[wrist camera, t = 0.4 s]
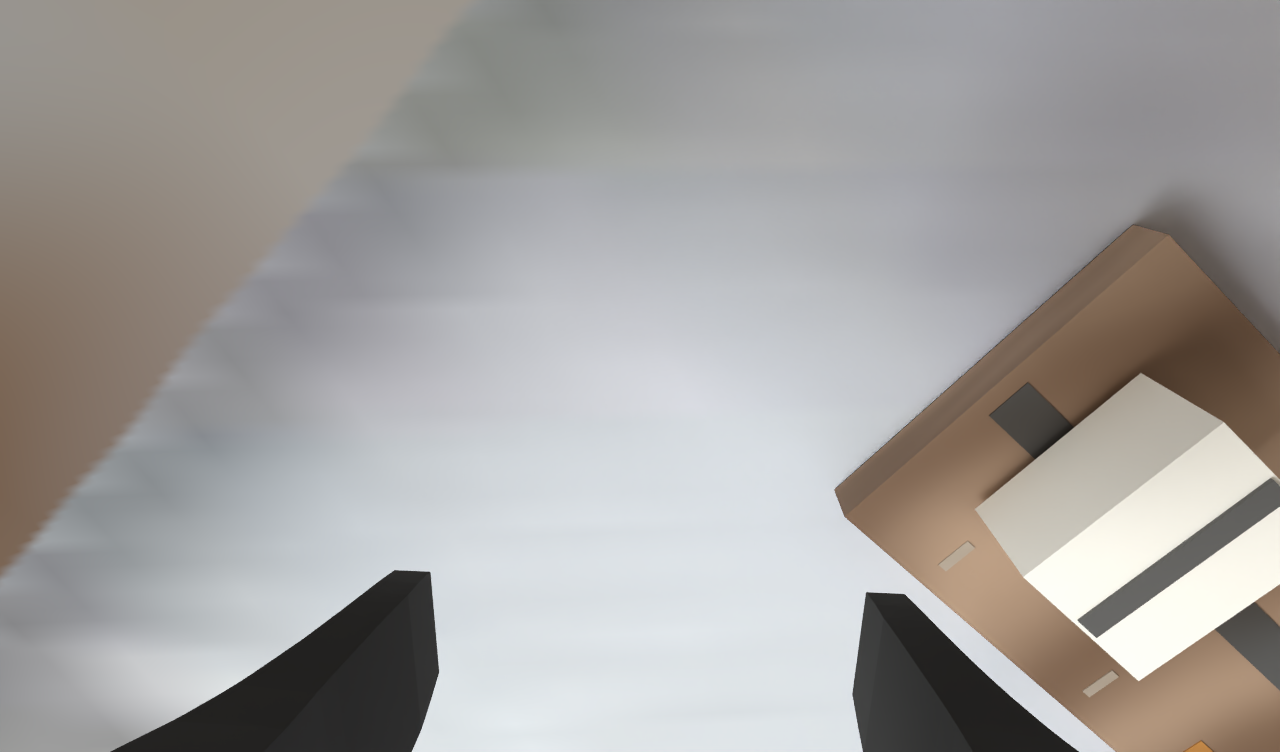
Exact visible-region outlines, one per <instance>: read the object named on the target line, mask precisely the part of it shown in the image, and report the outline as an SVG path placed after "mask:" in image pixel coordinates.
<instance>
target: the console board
mask: <svg viewBox="0 0 1280 752" xmlns="http://www.w3.org/2000/svg"><path fill="white" fill-rule="evenodd" d="M1140 373H1142V374H1144V375H1145V376H1147V377H1149V378H1150V379H1152V380H1154V381H1155V382H1157V383H1159V384H1160V385H1162V386H1164V387H1165V388H1167V389H1169V390H1171V391H1172V392H1174V393H1176V394H1177V395H1179V396H1181V397H1182V398H1184V399H1186V400H1187V401H1189V402H1191V403H1192V404H1194V405H1196V406H1197V407H1199V408H1201V409H1203V410H1204V411H1206V412H1208V413H1209V414H1211V415H1213V416H1214V417H1216V418H1218V419H1219V420H1221V421H1223V422H1224V423H1225V424H1226V425H1227V426H1228V427H1229V428H1230V429H1231V430H1232V431H1233V432H1234V433H1235V434H1236V435H1237V436H1238V437H1239V438H1240V439H1241V440H1242V441H1243V442H1244V443H1245V444H1246V445H1247V446H1248V447H1249V448H1250V450H1251V451H1252V452H1253V453H1254V454H1255V455H1256V456H1257V457H1258V458H1259V459H1260V460H1261V461H1262V462H1263V463H1264V464H1265V465H1266V466H1267V467H1268V468H1269V469H1270V470H1271V471H1272V472H1273V473H1274V474H1275V475H1276V476H1277V477H1278V478H1279V479H1280V354H1279V353H1278V352H1277V351H1276V350H1275V348H1274V347H1273V346H1272V345H1271V344H1270V343H1269V342H1268V341H1267V340H1266V339H1265V338H1264V337H1263V336H1262V334H1261V333H1260V332H1259V331H1258V330H1257V329H1256V328H1255V327H1254V326H1253V325H1252V324H1251V323H1250V322H1249V320H1248V319H1247V318H1246V317H1245V316H1244V315H1243V314H1242V313H1241V312H1240V311H1239V310H1238V309H1237V307H1236V306H1235V305H1234V304H1233V303H1232V302H1231V301H1230V300H1229V299H1228V298H1227V297H1226V296H1225V295H1224V293H1223V292H1222V291H1221V290H1220V289H1219V288H1218V287H1217V286H1216V285H1215V284H1214V283H1213V282H1212V281H1211V279H1210V278H1209V277H1208V276H1207V275H1206V274H1205V273H1204V272H1203V271H1202V270H1201V269H1200V268H1199V267H1198V265H1197V264H1196V263H1195V262H1194V261H1193V260H1192V259H1191V258H1190V257H1189V256H1188V255H1187V254H1186V253H1185V251H1184V250H1183V249H1182V248H1181V247H1180V246H1179V245H1178V244H1177V243H1176V242H1175V241H1174V240H1173V239H1172V237H1171V236H1170V235H1169V234H1165V233H1162V232H1158V231H1154V230H1151V229H1147V228H1143V227H1139V226H1136V225H1132V226H1131V227H1130V228H1129V229H1127V230H1126V231H1125V232H1124V233H1123V234H1122V235H1121V236H1120V237H1118V238H1117V239H1116V240H1115V241H1114V242H1113V243H1112V244H1111V245H1109V246H1108V247H1107V248H1106V249H1105V250H1104V251H1103V252H1102V253H1100V254H1099V255H1098V256H1097V257H1096V258H1095V259H1094V260H1093V261H1091V262H1090V263H1089V264H1088V265H1087V266H1086V267H1085V268H1084V269H1082V270H1081V271H1080V272H1079V273H1078V274H1077V275H1076V276H1075V277H1073V278H1072V279H1071V280H1070V281H1069V282H1068V283H1067V284H1066V285H1064V286H1063V287H1062V288H1061V289H1060V290H1059V291H1058V292H1057V293H1055V294H1054V295H1053V296H1052V297H1051V298H1050V299H1049V300H1047V301H1046V302H1045V303H1044V304H1043V305H1042V306H1041V307H1040V308H1038V309H1037V310H1036V311H1035V312H1034V313H1033V314H1032V315H1031V316H1029V317H1028V318H1027V319H1026V320H1025V321H1024V322H1023V323H1022V324H1020V325H1019V326H1018V327H1017V328H1016V329H1015V330H1014V331H1013V332H1011V333H1010V334H1009V335H1008V336H1007V337H1006V338H1005V339H1004V340H1002V341H1001V342H1000V343H999V344H998V345H997V346H996V347H995V348H993V349H992V350H991V351H990V352H989V353H988V354H987V355H986V356H984V357H983V358H982V359H981V360H980V361H979V362H978V363H977V364H975V365H974V366H973V367H972V368H971V369H970V370H969V371H968V372H966V373H965V374H964V375H963V376H962V377H961V378H960V379H959V380H957V381H956V382H955V383H954V384H953V385H952V386H951V387H950V388H948V389H947V390H946V391H945V392H944V393H943V394H942V395H941V396H939V397H938V398H937V399H936V400H935V401H934V402H933V403H932V404H930V405H929V406H928V407H927V408H926V409H925V410H924V411H923V412H921V413H920V414H919V415H918V416H917V417H916V418H915V419H914V420H912V421H911V422H910V423H909V424H908V425H907V426H906V427H905V428H903V429H902V430H901V431H900V432H899V433H898V434H897V435H896V436H894V437H893V438H892V439H891V440H890V441H889V442H888V443H887V444H885V445H884V446H883V447H882V448H881V449H880V450H879V451H878V452H876V453H875V454H874V455H873V456H872V457H871V458H870V459H869V460H867V461H866V462H865V463H864V464H863V465H862V466H861V467H859V468H858V469H857V470H856V471H855V472H854V473H853V474H852V475H850V476H849V477H848V478H847V479H846V480H845V481H844V482H843V483H841V484H840V485H839V486H838V487H837V488H836V489H835V493H836V496H837V498H838V501H839V503H840V506H841V509H842V511H843V514H844V516H845V517H846V518H847V519H848V520H849V521H850V522H851V523H852V524H854V525H855V526H856V527H857V528H858V529H859V530H861V531H862V532H863V533H864V534H865V535H866V536H868V537H869V538H870V539H871V540H872V541H873V542H874V543H876V544H877V545H878V546H879V547H880V548H881V549H883V550H884V551H885V552H886V553H887V554H888V555H889V556H891V557H892V558H893V559H894V560H895V561H896V562H898V563H899V564H900V565H901V566H902V567H903V568H904V569H906V570H907V571H908V572H909V573H910V574H911V575H913V576H914V577H915V578H916V579H917V580H918V581H919V582H921V583H922V584H923V585H924V586H925V587H926V588H928V589H929V590H930V591H931V592H932V593H933V594H934V595H936V596H937V597H938V598H939V599H940V600H941V601H943V602H944V603H945V604H946V605H947V606H948V607H949V608H951V609H952V610H953V611H954V612H955V613H956V614H958V615H959V616H960V617H961V618H962V619H963V620H964V621H966V622H967V623H968V624H969V625H970V626H971V627H973V628H974V629H975V630H976V631H977V632H978V633H979V634H981V635H982V636H983V637H984V638H985V639H986V640H988V641H989V642H990V643H991V644H992V645H993V646H995V647H996V648H997V649H998V650H999V651H1000V652H1001V653H1003V654H1004V655H1005V656H1006V657H1007V658H1008V659H1010V660H1011V661H1012V662H1013V663H1014V664H1015V665H1016V666H1018V667H1019V668H1020V669H1021V670H1022V671H1023V672H1025V673H1026V674H1027V675H1028V676H1029V677H1030V678H1031V679H1033V680H1034V681H1035V682H1036V683H1037V684H1038V685H1040V686H1041V687H1042V688H1043V689H1044V690H1045V691H1046V692H1048V693H1049V694H1050V695H1051V696H1052V697H1053V698H1055V699H1056V700H1057V701H1058V702H1059V703H1060V704H1061V705H1063V706H1064V707H1065V708H1066V709H1067V710H1068V711H1070V712H1071V713H1072V714H1073V715H1074V716H1075V717H1076V718H1078V719H1079V720H1080V721H1081V722H1082V723H1083V724H1085V725H1086V726H1087V727H1088V728H1089V729H1090V730H1091V731H1093V732H1094V733H1095V734H1096V735H1097V736H1098V737H1100V738H1101V739H1102V740H1103V741H1104V742H1105V743H1106V744H1108V745H1109V746H1110V747H1111V748H1112V749H1113V750H1115V751H1116V752H1280V584H1279V585H1278V586H1276V587H1275V588H1274V589H1272V590H1271V591H1269V592H1268V593H1266V594H1265V595H1263V596H1262V597H1260V598H1259V599H1258V600H1256V601H1255V602H1253V603H1252V604H1250V605H1249V606H1247V607H1246V608H1244V609H1243V610H1242V611H1240V612H1239V613H1237V614H1236V615H1234V616H1233V617H1231V618H1230V619H1228V620H1227V621H1226V622H1224V623H1223V624H1221V625H1220V626H1218V627H1217V628H1215V629H1214V630H1212V631H1211V632H1210V633H1208V634H1207V635H1205V636H1204V637H1202V638H1201V639H1199V640H1198V641H1196V642H1195V643H1194V644H1192V645H1191V646H1189V647H1188V648H1186V649H1185V650H1183V651H1182V652H1180V653H1179V654H1177V655H1176V656H1175V657H1173V658H1172V659H1170V660H1169V661H1167V662H1166V663H1164V664H1163V665H1161V666H1160V667H1159V668H1157V669H1156V670H1154V671H1153V672H1151V673H1150V674H1148V675H1147V676H1145V677H1144V678H1143V679H1141V680H1140V681H1138V680H1137V679H1136V678H1135V677H1133V676H1132V675H1131V674H1130V673H1129V672H1128V671H1127V670H1126V669H1125V668H1123V667H1122V666H1121V665H1120V664H1119V663H1118V662H1117V661H1116V660H1115V659H1113V658H1112V657H1111V656H1110V655H1109V654H1108V653H1107V652H1106V651H1105V650H1103V649H1102V648H1101V647H1100V646H1099V645H1098V644H1097V643H1096V642H1095V641H1093V640H1092V639H1091V638H1090V637H1089V636H1088V635H1087V634H1086V633H1085V632H1083V631H1082V630H1081V629H1080V628H1079V627H1078V626H1077V625H1076V624H1075V623H1073V622H1072V621H1071V620H1070V619H1069V618H1068V617H1067V616H1066V615H1065V614H1063V613H1062V612H1061V611H1060V610H1059V609H1058V608H1057V607H1056V606H1055V605H1053V604H1052V603H1051V602H1050V601H1049V600H1048V599H1047V598H1046V597H1045V596H1043V595H1042V594H1041V593H1040V592H1039V591H1038V590H1037V589H1036V588H1035V587H1033V586H1032V585H1031V584H1030V583H1029V582H1028V581H1027V580H1026V579H1025V578H1023V576H1022V575H1021V574H1020V572H1019V571H1018V569H1017V568H1016V566H1015V565H1014V564H1013V562H1012V561H1011V559H1010V558H1009V557H1008V555H1007V554H1006V552H1005V551H1004V550H1003V548H1002V547H1001V545H1000V544H999V543H998V541H997V540H996V538H995V537H994V535H993V534H992V533H991V531H990V530H989V528H988V527H987V526H986V524H985V523H984V521H983V520H982V519H981V517H980V516H979V514H978V513H977V512H976V510H975V509H976V508H977V507H978V506H979V505H980V504H982V503H983V502H984V501H985V500H987V499H988V498H989V497H990V496H991V495H993V494H994V493H995V492H996V491H998V490H999V489H1000V488H1001V487H1002V486H1004V485H1005V484H1006V483H1007V482H1009V481H1010V480H1011V479H1012V478H1013V477H1015V476H1016V475H1017V474H1018V473H1019V472H1021V471H1022V470H1023V469H1024V468H1026V467H1027V466H1028V465H1029V464H1030V463H1032V462H1033V461H1034V460H1035V459H1037V458H1038V457H1039V456H1040V455H1041V454H1043V453H1044V452H1045V451H1046V450H1047V449H1049V448H1050V447H1051V446H1052V445H1054V444H1055V443H1056V442H1057V441H1058V440H1060V439H1061V438H1062V437H1063V436H1065V435H1066V434H1067V433H1068V432H1069V431H1071V430H1072V429H1073V428H1074V427H1076V426H1077V425H1078V424H1079V423H1080V422H1082V421H1083V420H1084V419H1085V418H1086V417H1088V416H1089V415H1090V414H1091V413H1093V412H1094V411H1095V410H1096V409H1097V408H1099V407H1100V406H1101V405H1102V404H1104V403H1105V402H1106V401H1107V400H1108V399H1110V398H1111V397H1112V396H1113V395H1115V394H1116V393H1117V392H1118V391H1119V390H1121V389H1122V388H1123V387H1124V386H1125V385H1127V384H1128V383H1129V382H1130V381H1132V380H1133V379H1134V378H1135V377H1136V376H1138V375H1139V374H1140Z"/></svg>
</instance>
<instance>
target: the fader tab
mask: <svg viewBox="0 0 1280 752" xmlns="http://www.w3.org/2000/svg"><path fill="white" fill-rule="evenodd" d="M975 510H976V512H977V513H978V514H979V516H980V517H981V519H982V520H983V521H984V523H985V524H986V526H987V527H988V528H989V530H990V531H991V533H992V534H993V535H994V537H995V538H996V540H997V541H998V543H999V544H1000V545H1001V547H1002V548H1003V550H1004V551H1005V552H1006V554H1007V555H1008V557H1009V558H1010V559H1011V561H1012V562H1013V564H1014V565H1015V566H1016V568H1017V569H1018V571H1019V572H1020V574H1021V575H1022V576H1023V578H1025V579H1026V580H1027V581H1028V582H1029V583H1030V584H1031V585H1032V586H1033V587H1035V588H1036V589H1037V590H1038V591H1039V592H1040V593H1041V594H1042V595H1043V596H1045V597H1046V598H1047V599H1048V600H1049V601H1050V602H1051V603H1052V604H1053V605H1055V606H1056V607H1057V608H1058V609H1059V610H1060V611H1061V612H1062V613H1063V614H1065V615H1066V616H1067V617H1068V618H1069V619H1070V620H1071V621H1072V622H1073V623H1075V624H1076V625H1077V626H1078V627H1079V628H1080V629H1081V630H1082V631H1083V632H1085V633H1086V634H1087V635H1088V636H1089V637H1090V638H1091V639H1092V640H1093V641H1095V642H1096V643H1097V644H1098V645H1099V646H1100V647H1101V648H1102V649H1103V650H1105V651H1106V652H1107V653H1108V654H1109V655H1110V656H1111V657H1112V658H1113V659H1115V660H1116V661H1117V662H1118V663H1119V664H1120V665H1121V666H1122V667H1123V668H1125V669H1126V670H1127V671H1128V672H1129V673H1130V674H1131V675H1132V676H1133V677H1135V678H1136V679H1137V680H1138V681H1140V680H1141V679H1143V678H1144V677H1145V676H1147V675H1148V674H1150V673H1151V672H1153V671H1154V670H1156V669H1157V668H1159V667H1160V666H1161V665H1163V664H1164V663H1166V662H1167V661H1169V660H1170V659H1172V658H1173V657H1175V656H1176V655H1177V654H1179V653H1180V652H1182V651H1183V650H1185V649H1186V648H1188V647H1189V646H1191V645H1192V644H1194V643H1195V642H1196V641H1198V640H1199V639H1201V638H1202V637H1204V636H1205V635H1207V634H1208V633H1210V632H1211V631H1212V630H1214V629H1215V628H1217V627H1218V626H1220V625H1221V624H1223V623H1224V622H1226V621H1227V620H1228V619H1230V618H1231V617H1233V616H1234V615H1236V614H1237V613H1239V612H1240V611H1242V610H1243V609H1244V608H1246V607H1247V606H1249V605H1250V604H1252V603H1253V602H1255V601H1256V600H1258V599H1259V598H1260V597H1262V596H1263V595H1265V594H1266V593H1268V592H1269V591H1271V590H1272V589H1274V588H1275V587H1276V586H1278V585H1279V584H1280V479H1279V478H1278V477H1277V476H1276V475H1275V474H1274V473H1273V472H1272V471H1271V470H1270V469H1269V468H1268V467H1267V466H1266V465H1265V464H1264V463H1263V462H1262V461H1261V460H1260V459H1259V458H1258V457H1257V456H1256V455H1255V454H1254V453H1253V452H1252V451H1251V450H1250V448H1249V447H1248V446H1247V445H1246V444H1245V443H1244V442H1243V441H1242V440H1241V439H1240V438H1239V437H1238V436H1237V435H1236V434H1235V433H1234V432H1233V431H1232V430H1231V429H1230V428H1229V427H1228V426H1227V425H1226V424H1225V423H1224V422H1223V421H1221V420H1219V419H1218V418H1216V417H1214V416H1213V415H1211V414H1209V413H1208V412H1206V411H1204V410H1203V409H1201V408H1199V407H1197V406H1196V405H1194V404H1192V403H1191V402H1189V401H1187V400H1186V399H1184V398H1182V397H1181V396H1179V395H1177V394H1176V393H1174V392H1172V391H1171V390H1169V389H1167V388H1165V387H1164V386H1162V385H1160V384H1159V383H1157V382H1155V381H1154V380H1152V379H1150V378H1149V377H1147V376H1145V375H1144V374H1142V373H1140V374H1139V375H1138V376H1136V377H1135V378H1134V379H1133V380H1132V381H1130V382H1129V383H1128V384H1127V385H1125V386H1124V387H1123V388H1122V389H1121V390H1119V391H1118V392H1117V393H1116V394H1115V395H1113V396H1112V397H1111V398H1110V399H1108V400H1107V401H1106V402H1105V403H1104V404H1102V405H1101V406H1100V407H1099V408H1097V409H1096V410H1095V411H1094V412H1093V413H1091V414H1090V415H1089V416H1088V417H1086V418H1085V419H1084V420H1083V421H1082V422H1080V423H1079V424H1078V425H1077V426H1076V427H1074V428H1073V429H1072V430H1071V431H1069V432H1068V433H1067V434H1066V435H1065V436H1063V437H1062V438H1061V439H1060V440H1058V441H1057V442H1056V443H1055V444H1054V445H1052V446H1051V447H1050V448H1049V449H1047V450H1046V451H1045V452H1044V453H1043V454H1041V455H1040V456H1039V457H1038V458H1037V459H1035V460H1034V461H1033V462H1032V463H1030V464H1029V465H1028V466H1027V467H1026V468H1024V469H1023V470H1022V471H1021V472H1019V473H1018V474H1017V475H1016V476H1015V477H1013V478H1012V479H1011V480H1010V481H1009V482H1007V483H1006V484H1005V485H1004V486H1002V487H1001V488H1000V489H999V490H998V491H996V492H995V493H994V494H993V495H991V496H990V497H989V498H988V499H987V500H985V501H984V502H983V503H982V504H980V505H979V506H978V507H977V508H976V509H975Z"/></svg>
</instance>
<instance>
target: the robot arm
mask: <svg viewBox="0 0 1280 752" xmlns="http://www.w3.org/2000/svg"><path fill="white" fill-rule="evenodd" d="M438 674H439V666H438V655H437V643H436V632H435V620H434V609H433V597H432V586H431V574H430V572H420V571H398V570H394V571H393V572H392V573H390V574H389V575H387V576H386V577H384V578H383V579H382V580H380V581H379V582H378V583H376V584H375V585H374V586H372V587H371V588H370V589H369V590H367V591H366V592H365V593H363V594H362V595H361V596H359V597H358V598H357V599H356V600H354V601H353V602H352V603H350V604H349V605H348V606H346V607H345V608H344V609H343V610H341V611H340V612H339V613H337V614H336V615H335V616H333V617H332V618H331V619H329V620H328V621H327V622H325V623H324V624H323V625H321V626H320V627H319V628H317V629H316V630H315V631H313V632H312V633H311V634H309V635H308V636H307V637H305V638H304V639H302V640H301V641H300V642H298V643H297V644H295V645H294V646H292V647H291V648H289V649H288V650H286V651H285V652H283V653H282V654H281V655H279V656H278V657H276V658H275V659H273V660H272V661H270V662H269V663H267V664H266V665H264V666H263V667H262V668H260V669H259V670H257V671H256V672H254V673H253V674H251V675H250V676H248V677H247V678H245V679H244V680H242V681H240V682H239V683H237V684H236V685H234V686H232V687H231V688H229V689H227V690H226V691H224V692H223V693H221V694H219V695H218V696H216V697H214V698H212V699H211V700H209V701H207V702H205V703H204V704H202V705H200V706H198V707H197V708H195V709H193V710H191V711H190V712H188V713H186V714H184V715H182V716H181V717H179V718H177V719H175V720H173V721H171V722H169V723H167V724H165V725H163V726H161V727H159V728H157V729H155V730H153V731H151V732H149V733H147V734H145V735H143V736H141V737H139V738H137V739H135V740H133V741H131V742H129V743H127V744H125V745H123V746H121V747H119V748H117V749H115V750H113V751H111V752H412V750H413V747H414V745H415V743H416V741H417V738H418V736H419V734H420V731H421V729H422V726H423V723H424V720H425V717H426V713H427V710H428V707H429V704H430V701H431V697H432V694H433V691H434V687H435V684H436V681H437V677H438ZM853 700H854V705H855V711H856V717H857V722H858V728H859V733H860V738H861V743H862V748H863V752H1079V751H1077V750H1076V749H1075V748H1073V747H1072V746H1070V745H1069V744H1068V743H1066V742H1065V741H1064V740H1062V739H1061V738H1060V737H1059V736H1057V735H1056V734H1055V733H1054V732H1052V731H1051V730H1050V729H1048V728H1047V727H1046V726H1045V725H1044V724H1042V723H1041V722H1040V721H1039V720H1038V719H1036V718H1035V717H1034V716H1033V715H1032V714H1031V713H1029V712H1028V711H1027V710H1026V709H1025V708H1023V707H1022V706H1021V705H1020V704H1019V703H1018V702H1016V701H1015V700H1014V699H1013V698H1012V697H1011V696H1009V695H1008V694H1007V693H1006V692H1005V691H1004V690H1003V689H1002V688H1000V687H999V686H998V685H997V684H996V683H995V682H994V681H993V680H992V679H991V678H989V677H988V676H987V675H986V674H985V673H984V672H983V671H982V670H981V669H980V668H979V667H978V666H977V665H976V664H975V663H974V662H972V661H971V660H970V659H969V658H968V657H967V656H966V655H965V654H964V653H963V652H962V651H961V650H960V649H959V648H958V647H957V646H956V645H955V644H954V643H953V642H952V641H951V640H950V639H949V638H948V637H947V636H946V635H945V634H944V633H943V632H942V631H941V630H940V629H939V628H938V627H937V626H936V625H935V624H934V623H933V622H932V621H931V620H930V619H929V618H928V617H927V616H926V615H925V614H924V613H923V612H922V611H921V610H920V609H919V608H918V607H917V606H916V605H915V604H914V603H913V602H912V601H911V600H910V599H909V598H908V597H907V596H906V595H905V594H890V593H868V592H866V598H865V605H864V613H863V620H862V627H861V635H860V642H859V650H858V657H857V664H856V672H855V679H854V687H853Z"/></svg>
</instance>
